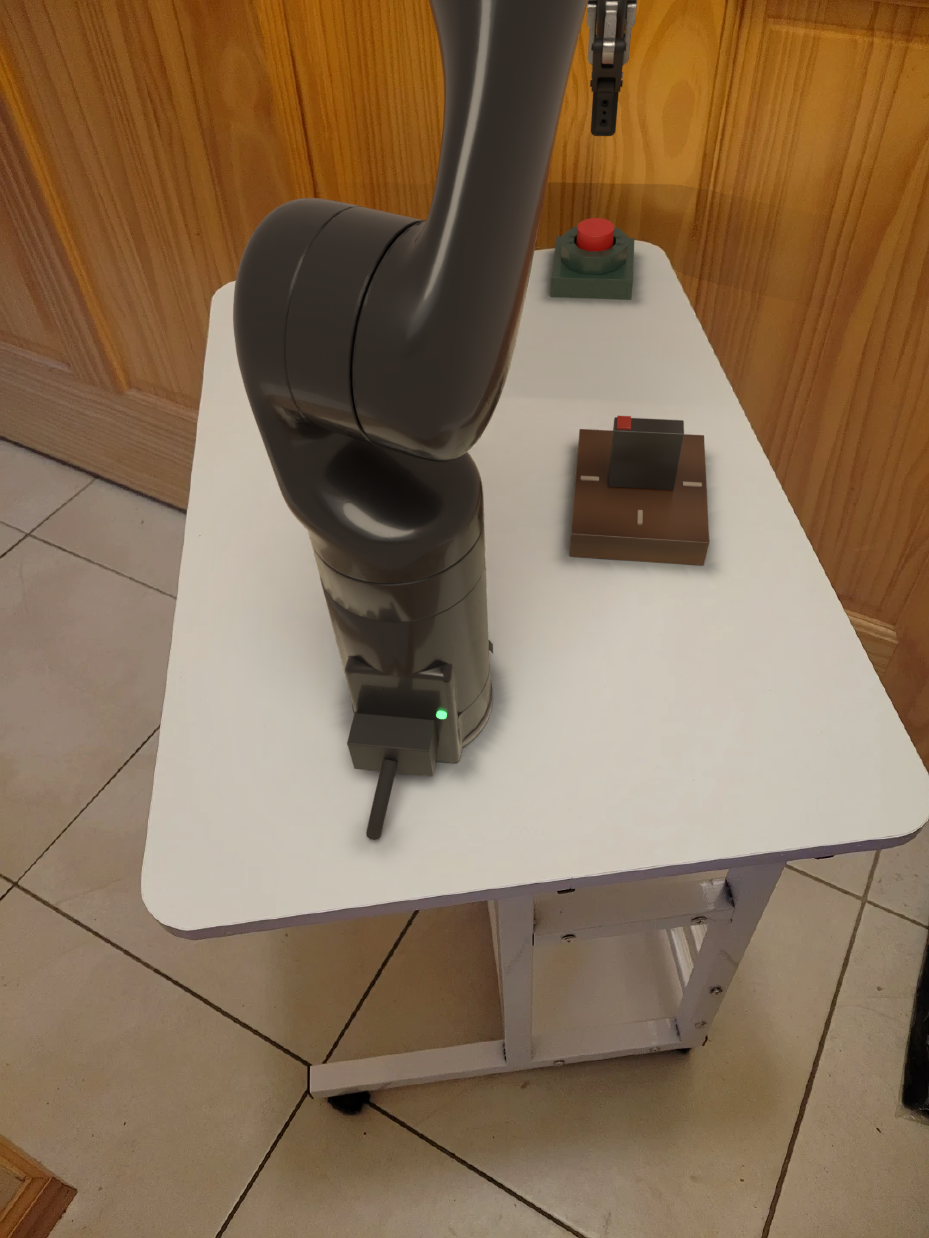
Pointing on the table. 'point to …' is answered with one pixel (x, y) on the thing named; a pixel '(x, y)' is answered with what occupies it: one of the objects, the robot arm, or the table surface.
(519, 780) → the table surface
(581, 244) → the button
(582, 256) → the button box
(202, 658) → the table surface
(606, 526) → the panel
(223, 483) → the table surface
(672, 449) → the lock knob
